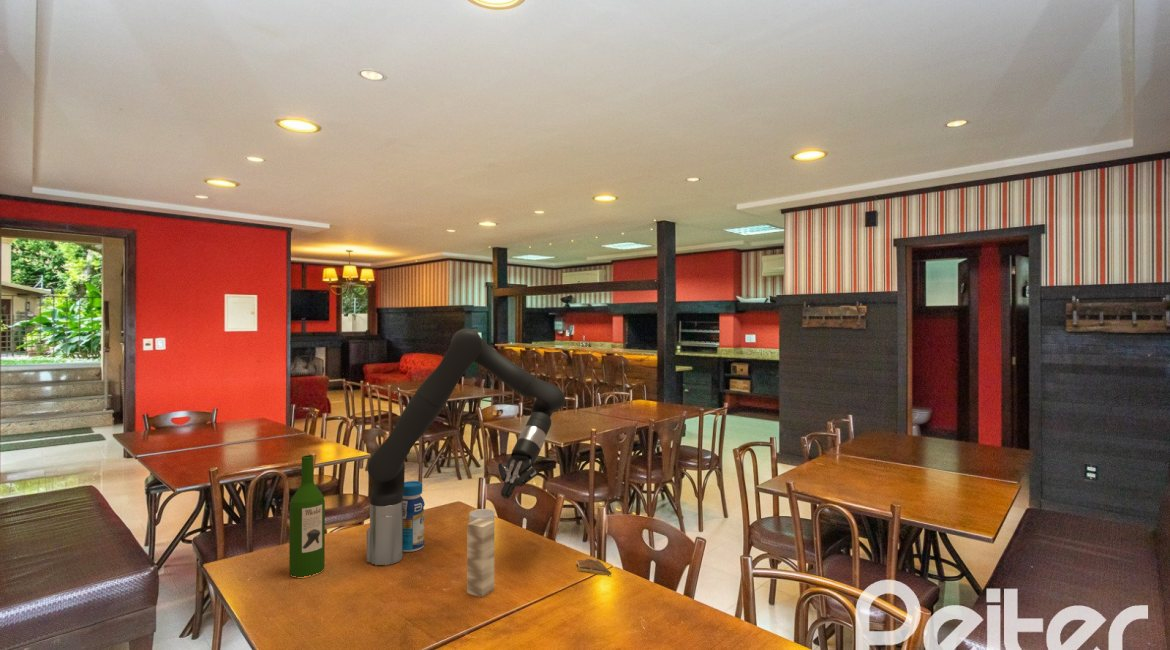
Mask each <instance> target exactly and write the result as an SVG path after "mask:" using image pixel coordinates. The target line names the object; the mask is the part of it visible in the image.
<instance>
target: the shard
mask: <svg viewBox="0 0 1170 650" xmlns="http://www.w3.org/2000/svg"><path fill="white" fill-rule="evenodd" d="M575 562H576V564H577V565H578V568H577V571H578V572H585V573H591V574H594V575H598V576H599V575H600V576H605V575H608V576H607V577H610V576H609V575H611V576H612V573H613V572H612V571H610V570H609V569H608V568H607V567H606V566H605V565H604V563H602V562H601V561H600V560H599V559H596V558H585V559H578V560H576V561H575Z"/></svg>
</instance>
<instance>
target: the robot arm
mask: <svg viewBox="0 0 1170 650" xmlns="http://www.w3.org/2000/svg"><path fill="white" fill-rule="evenodd" d="M450 341H451V342H450V345H449V347H448V349H447V351H446V353H445V354H444V356H443V358H442V359H441V362H440V363H439V365H438V366H437V367H436V368H435V369H434V370H433V371H432V372H431V374H430V375H428V376H427V377H426V379H425V380H424V381H423V382H422V383H421V384H420V386H419V387H418V388H417V390H416V391H415V393H414V394H413V395H412V397H411V398H410V399H409V401H408V403H407V404H406V406H405V408H404V410H403V411H402V413H401V415H400V417H399V419H398V420H397V422H396V424H395V426H394V427H393V429H392V431H391V432H390V434H389V435H388V437H387V438H386V439H385V440H384V442H383V443H382V444H381V445H380V446H379V448H377V450H376V451H375V452H374V453H373V454H372V455H371V456H370V458H369V459H368V462H367V472H368V475H369V477H370V479H372V485H371V489H370V493H369V528H368V529H366V563H367V562H371V563H372V565H373V564H375V565H374V566H377V565H385V566H391V565H394V563H395V564H397V563H399V562H401V561H402V560H403V556H404V555H403V553H404V552H403V491H404V482H405V472H406V468H405V466H406V464H405V463H406V462H405V460H406V458H407V456H408V454H409V453H410V451H411V449H412V448H413V447H414V445H416V443H417V442H418V440H419V439H420V438H421V437H422V436H423V434H424V433H425V432H426V431H427V430H428V429H429V428H430V426H431V425H432V424H433V423H434V421H435V420H436V419H437V417H438V416H439V414H440V413H441V411H442V410H443V408H444V407H445V406H446V404H447V402H448V400H449V398H450V397H451V395H452V393H453V391H454V390H455V388H456V386H457V384H458V383H459V381H460V379H461V378H462V376H463V375H464V374H465V373H466V371H467V370H468V369H469V367H471V365H472V364H473V363H475V364H477V365H479V366H481V367H482V368H485V370H487V371H488V372H490V373H491V374H492V375H494V376H495V377H496V378H497V379H499V381H501V382H503V384H505V385H506V386H507V387H509V389H512V390H513V391H515V392H516V393H518V394H519V395H521V396H522V397H524V398H527V399H528V398H534V399H535V400H534V402H533V405H532V409H531V412H530V416H529V418H528V420H527V422H526V424H525V426H524V428H523V429H522V431H521V432H520V434H519V436H518V439H517V440H516V442H515V445H514V446H513V447H512V451H511V454H510V457H509V458H508V459H507V461H506V463H505V462H504V463H503V464H502V463H498V465H497V466H498V471H499V477H500V480H501V481H502V483H504V484H503V487H502V489H501V491H500V495H501V497H502V498H503V499H507V500H508V499H510V498H511V497H512V495H513V493H514V490H515V489H516V488H517V487H520V488H521V487H523V486H524V485H526V484H527V483H529V482H530V481H531V480H533V479H534V478H536V477H537V476H538V473H537V471H536V470H535V468H534V466H535V465H534V464H536V462H537V459H538V457H539V456H540V453H541V450H543V449H542V448H543V446H544V444H545V441H546V438H547V435H548V433H549V431H550V428H551V427H552V419H551V417H552V415H553V413H554V412H556V411H557V410H559V409H561V408H562V407H563V406H564V405H565V403H566V395H565V394H564V391H562V389H561V388H560V387H558V386H556V385H555V384H552V383H550V382H548V381H545V380H542V379H539V378H537V377H535V375H533V374H532V373H530V372H529V371H527V370H526V369H524V368H523V367H521V366H519V365H518V364H516V363H515V362H513V361H512V360H510V359H508V358H507V357H505V356H504V355H502V354H501V353H499V352H498V351H497V350H495V349H494V348H493V347H491V346H490V345H489V344H488V342H486V341H485V340H484V339H483V338H482V336H481V335H480V334H479V333H478V332H477V331H476V330H474V329H471V328H461V329H459V330H457V331H456V332H455V333H454V334H453V335H452V338H451V340H450ZM371 563H370V564H371ZM390 564H391V565H390Z"/></svg>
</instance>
